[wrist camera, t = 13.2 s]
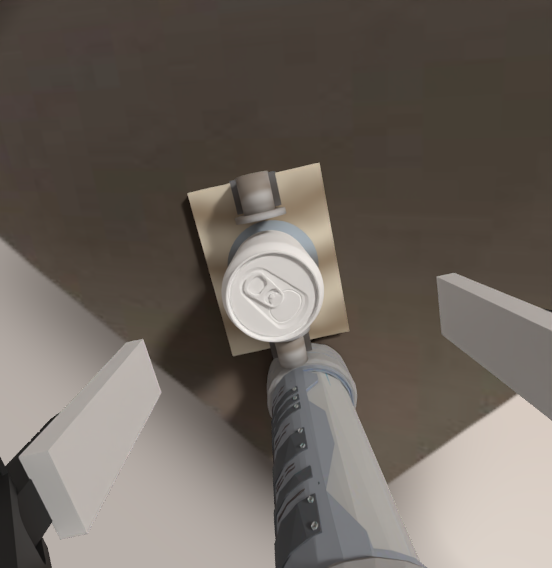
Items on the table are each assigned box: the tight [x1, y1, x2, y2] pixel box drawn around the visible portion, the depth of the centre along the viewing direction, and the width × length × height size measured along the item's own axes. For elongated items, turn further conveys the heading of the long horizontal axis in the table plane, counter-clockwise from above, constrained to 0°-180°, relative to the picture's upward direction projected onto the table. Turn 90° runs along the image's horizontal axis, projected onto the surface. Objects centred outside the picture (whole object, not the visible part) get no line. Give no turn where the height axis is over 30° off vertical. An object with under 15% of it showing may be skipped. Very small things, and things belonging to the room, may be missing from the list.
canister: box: [267, 343, 427, 568], centre depth 27 cm, size 10×10×30 cm
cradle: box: [187, 163, 349, 369], centre depth 34 cm, size 19×14×8 cm
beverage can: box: [221, 230, 324, 342], centre depth 30 cm, size 8×8×12 cm
